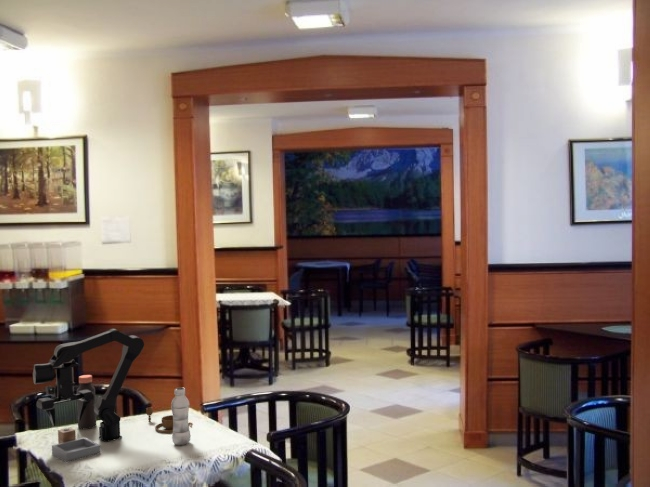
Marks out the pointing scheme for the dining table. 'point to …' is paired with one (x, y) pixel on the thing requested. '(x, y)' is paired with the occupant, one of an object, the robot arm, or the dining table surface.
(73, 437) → the walnut block
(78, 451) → the charcoal tray
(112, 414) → the robot arm
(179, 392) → the plastic bottle
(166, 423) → the place setting
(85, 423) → the vinegar
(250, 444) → the dining table surface
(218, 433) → the dining table surface
